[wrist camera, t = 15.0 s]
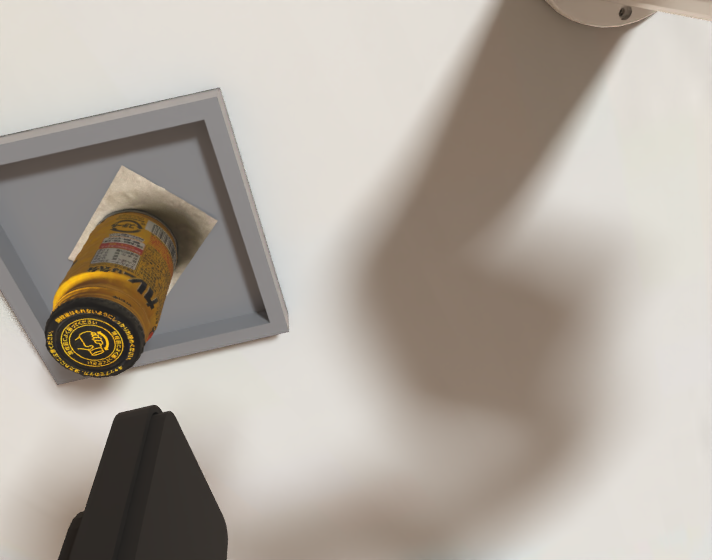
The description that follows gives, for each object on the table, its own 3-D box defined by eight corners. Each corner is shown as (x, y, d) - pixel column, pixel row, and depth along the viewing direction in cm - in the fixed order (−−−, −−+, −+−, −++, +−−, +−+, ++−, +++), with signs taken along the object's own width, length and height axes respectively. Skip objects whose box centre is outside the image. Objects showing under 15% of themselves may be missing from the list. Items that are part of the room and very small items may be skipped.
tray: (-58, 149, 38) (-77, 161, 36) (219, 87, 38) (217, 96, 36) (67, 364, 47) (57, 384, 45) (288, 314, 48) (289, 331, 46)
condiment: (68, 257, 42) (4, 360, 32) (122, 164, 39) (71, 244, 29) (161, 302, 45) (130, 410, 35) (218, 218, 42) (202, 309, 32)
